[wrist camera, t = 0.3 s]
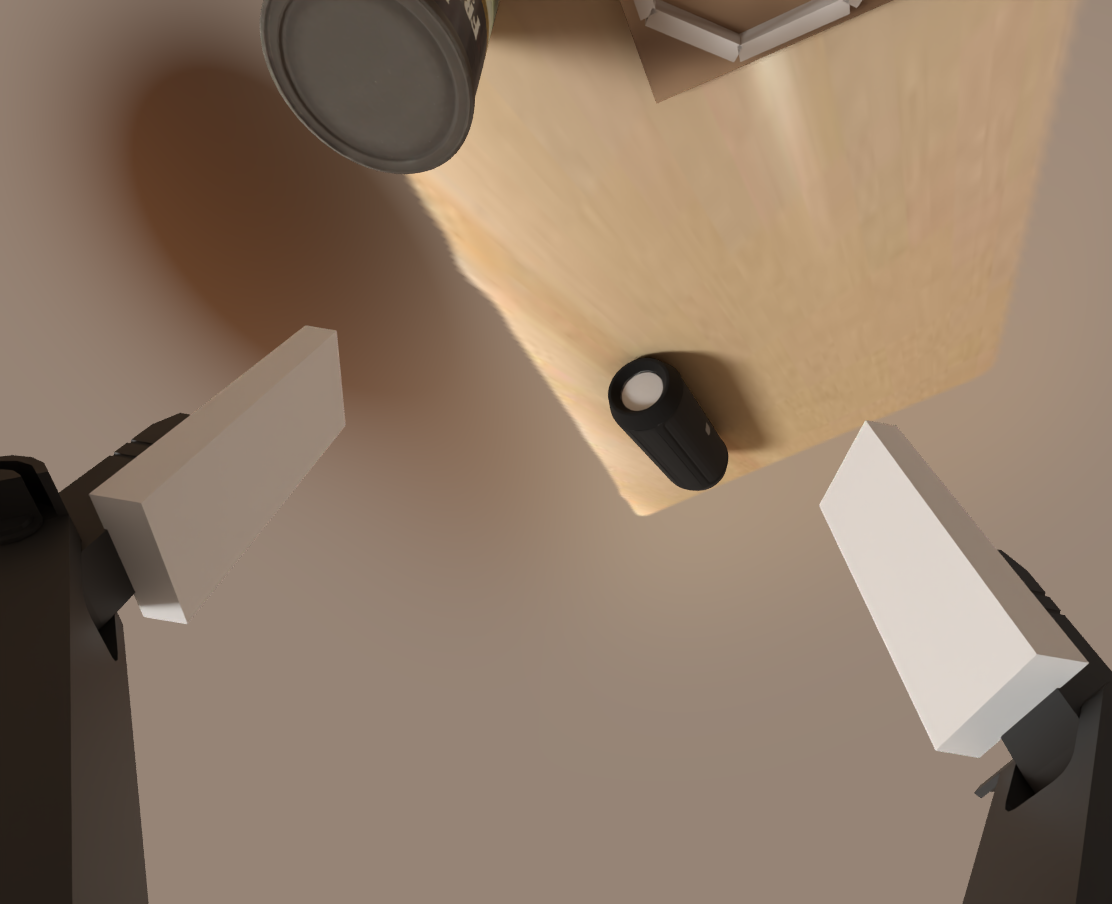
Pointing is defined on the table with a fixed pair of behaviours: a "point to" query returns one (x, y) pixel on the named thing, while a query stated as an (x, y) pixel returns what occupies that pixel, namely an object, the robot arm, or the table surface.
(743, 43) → the collar board
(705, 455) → the portable speaker
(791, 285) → the table surface
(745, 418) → the table surface
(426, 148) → the coffee can
